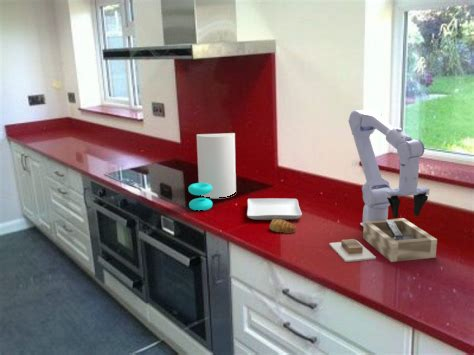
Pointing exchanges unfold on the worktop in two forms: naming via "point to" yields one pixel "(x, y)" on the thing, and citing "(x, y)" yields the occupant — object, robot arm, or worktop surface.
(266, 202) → the salad plate
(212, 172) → the cylinder
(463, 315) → the worktop surface
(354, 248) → the walnut bar
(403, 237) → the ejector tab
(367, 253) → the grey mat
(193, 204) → the donuts
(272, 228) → the pastry
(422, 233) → the pocket board
